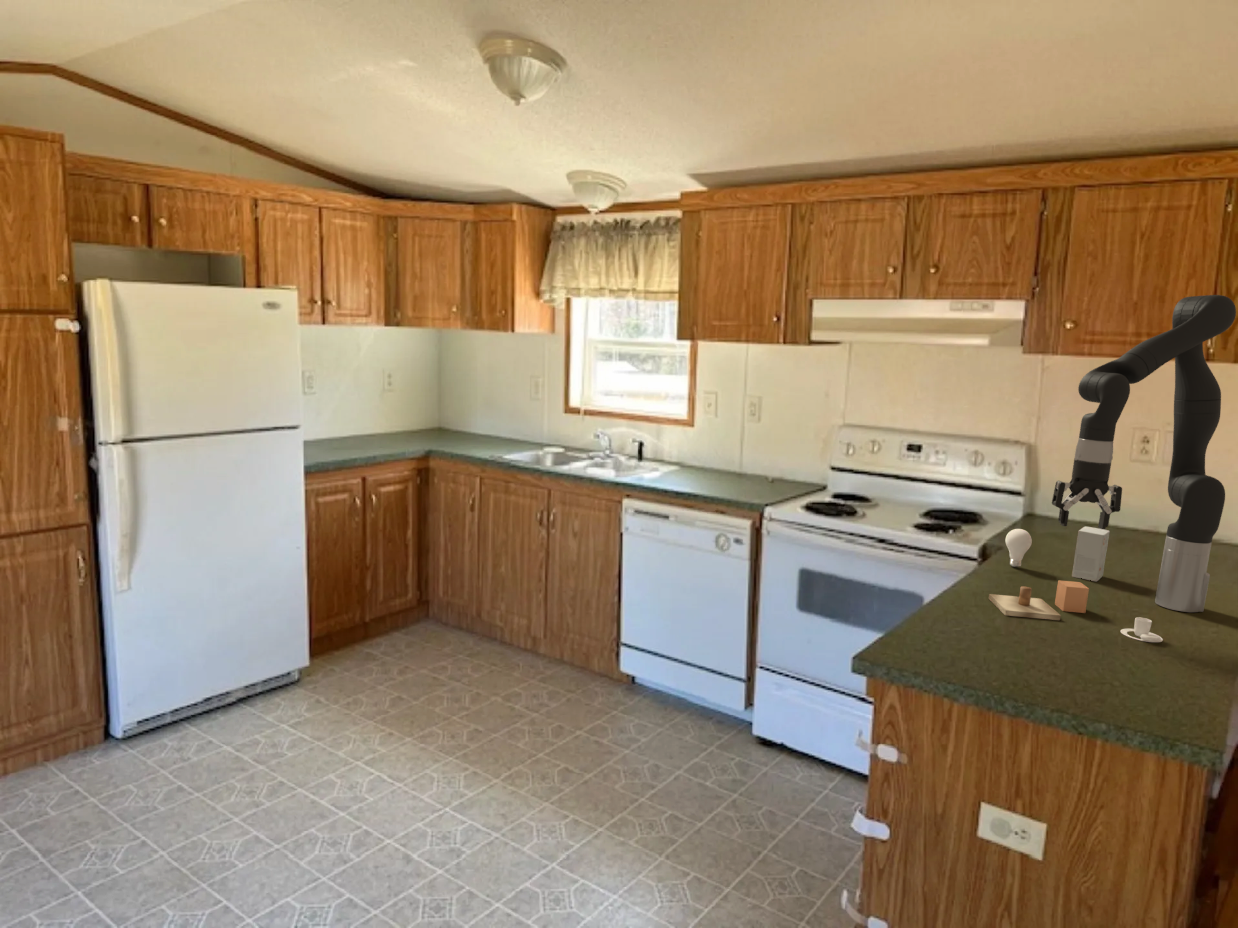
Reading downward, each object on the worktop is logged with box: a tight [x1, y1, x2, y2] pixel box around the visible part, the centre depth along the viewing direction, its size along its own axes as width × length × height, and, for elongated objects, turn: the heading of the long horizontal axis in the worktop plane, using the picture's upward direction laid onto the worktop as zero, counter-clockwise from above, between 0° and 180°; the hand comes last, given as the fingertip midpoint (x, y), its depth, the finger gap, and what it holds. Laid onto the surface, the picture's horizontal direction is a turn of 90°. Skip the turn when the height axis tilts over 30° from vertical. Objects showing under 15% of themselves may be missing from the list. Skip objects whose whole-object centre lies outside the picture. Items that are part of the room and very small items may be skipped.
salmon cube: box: [1054, 579, 1090, 614], centre depth 199 cm, size 5×5×6 cm
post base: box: [988, 585, 1062, 621], centre depth 196 cm, size 12×12×5 cm
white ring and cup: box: [1120, 616, 1164, 643], centre depth 182 cm, size 9×8×4 cm
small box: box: [1071, 526, 1111, 582], centre depth 228 cm, size 8×6×13 cm
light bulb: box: [1005, 528, 1033, 568], centre depth 233 cm, size 7×7×11 cm
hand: (1082, 527), depth 196 cm, fingers open, 8 cm apart
